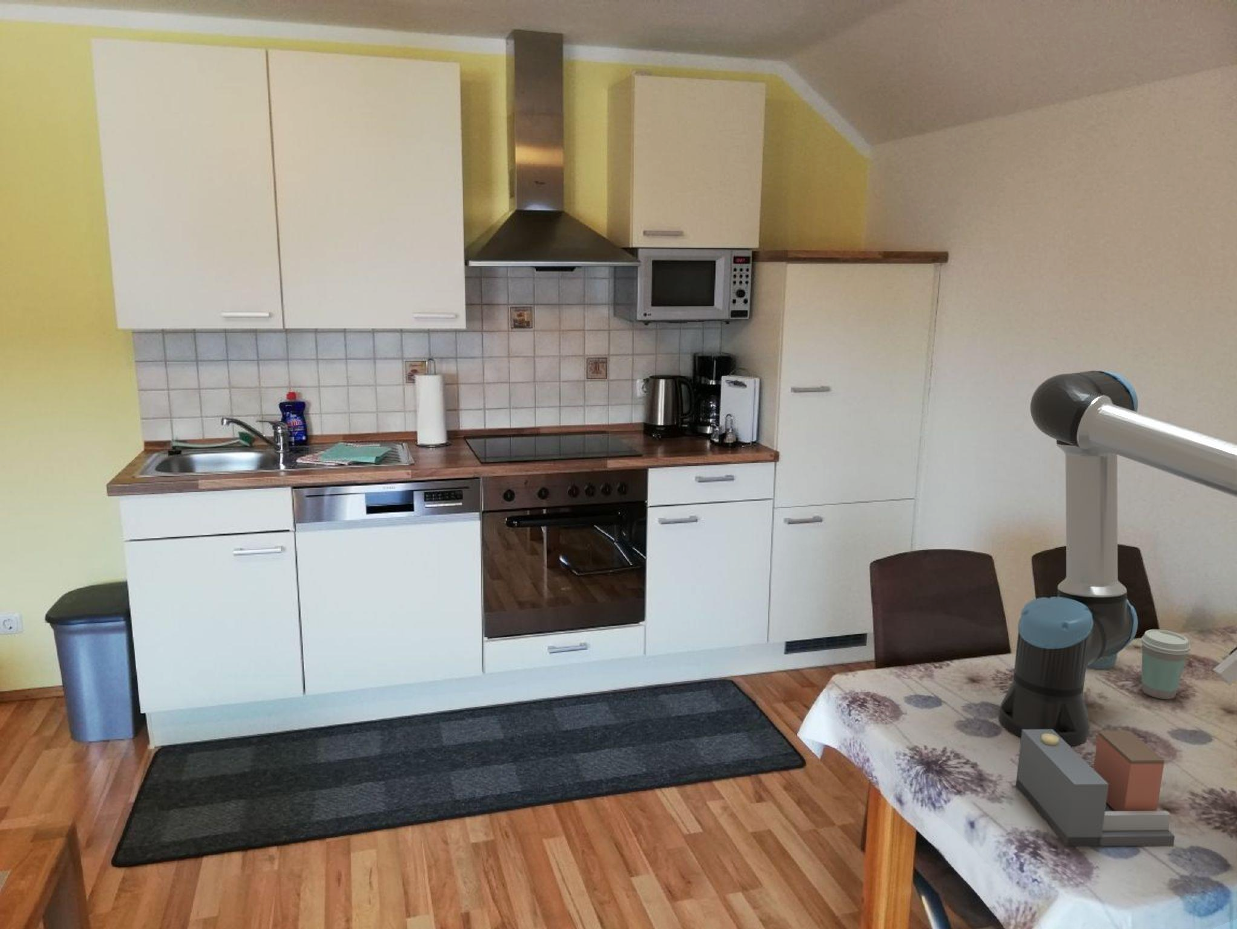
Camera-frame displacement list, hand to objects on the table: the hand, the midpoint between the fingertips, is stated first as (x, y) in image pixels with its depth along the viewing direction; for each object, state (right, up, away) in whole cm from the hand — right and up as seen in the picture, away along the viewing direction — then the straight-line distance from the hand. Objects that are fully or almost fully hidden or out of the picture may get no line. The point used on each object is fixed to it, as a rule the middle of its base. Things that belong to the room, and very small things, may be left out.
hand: (1221, 677), depth 136 cm
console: (-18, -22, +4) cm, 29 cm away
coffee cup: (+18, -14, +46) cm, 51 cm away
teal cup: (+12, -11, +60) cm, 62 cm away
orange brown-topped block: (-13, -20, +4) cm, 24 cm away
